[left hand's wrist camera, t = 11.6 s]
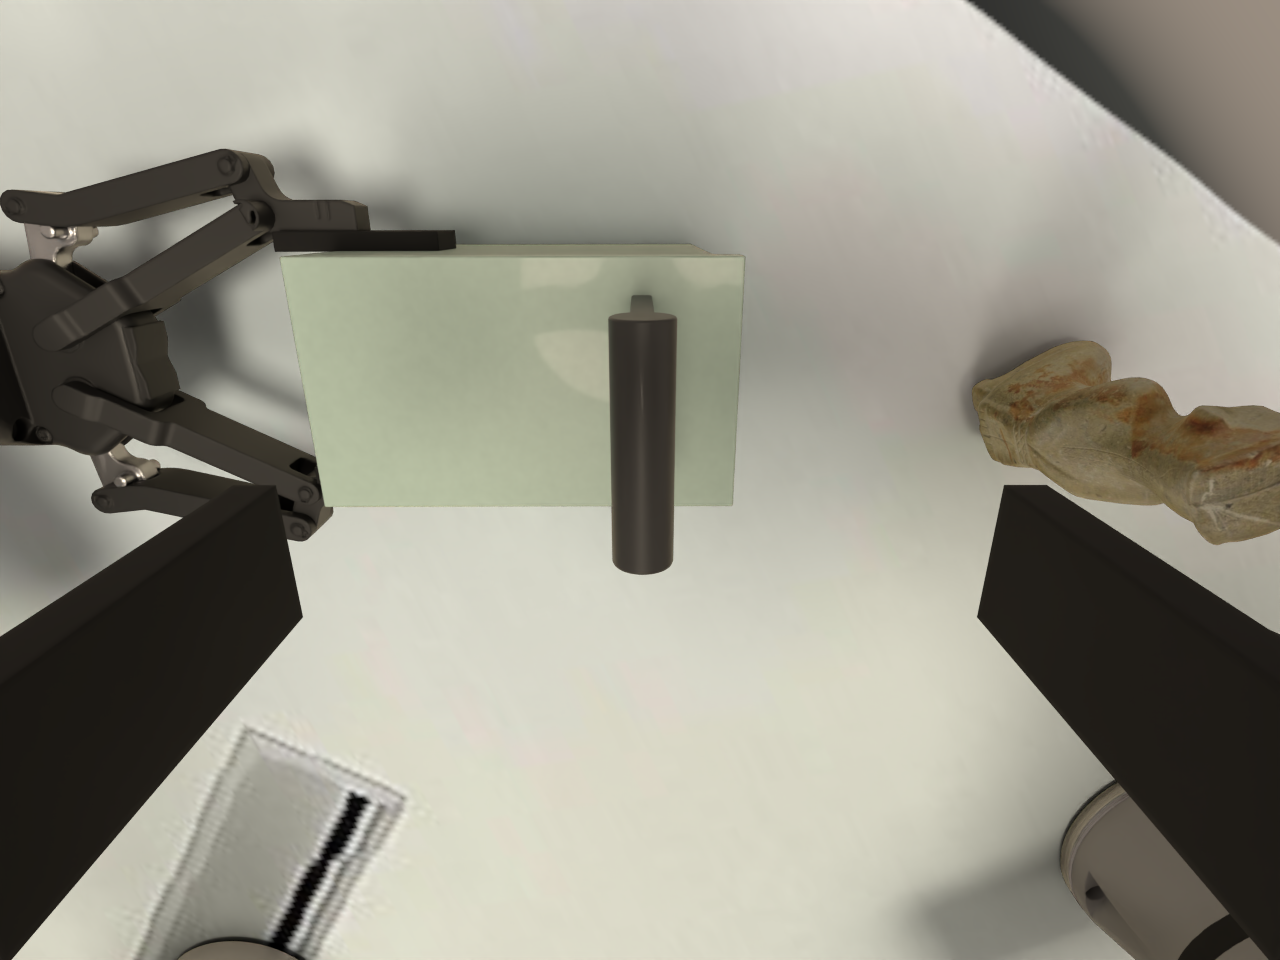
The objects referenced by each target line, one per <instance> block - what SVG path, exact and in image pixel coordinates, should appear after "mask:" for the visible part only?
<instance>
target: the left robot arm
mask: <svg viewBox="0 0 1280 960" xmlns="http://www.w3.org/2000/svg"><path fill="white" fill-rule="evenodd" d="M302 618H303V615H302V610H301V605H300V601H299V596H298V591H297V586H296V581H295V576H294V571H293V566H292V562H291V557H290V552H289V547H288V542H287V537H286V532H285V527H284V523H283V518H282V513H281V508H280V503H279V498H278V493H277V488H276V485H233V486H231V487H230V488H228V489H227V490H225V491H224V492H222V493H220V494H219V495H217V496H216V497H214V498H213V499H211V500H210V501H208V502H207V503H205V504H204V505H202V506H200V507H199V508H197V509H196V510H194V511H193V512H191V513H190V514H188V515H187V516H185V517H184V518H182V519H180V520H179V521H177V522H176V523H174V524H173V525H171V526H170V527H168V528H167V529H165V530H164V531H162V532H161V533H159V534H157V535H156V536H154V537H153V538H151V539H150V540H148V541H147V542H145V543H144V544H142V545H141V546H139V547H137V548H136V549H134V550H133V551H131V552H130V553H128V554H127V555H125V556H124V557H122V558H121V559H119V560H117V561H116V562H114V563H113V564H111V565H110V566H108V567H107V568H105V569H104V570H102V571H101V572H99V573H97V574H96V575H94V576H93V577H91V578H90V579H88V580H87V581H85V582H84V583H82V584H81V585H79V586H77V587H76V588H74V589H73V590H71V591H70V592H68V593H67V594H65V595H64V596H62V597H61V598H59V599H57V600H56V601H54V602H53V603H51V604H50V605H48V606H47V607H45V608H44V609H42V610H41V611H39V612H37V613H36V614H34V615H33V616H31V617H30V618H28V619H27V620H25V621H24V622H22V623H21V624H19V625H17V626H16V627H14V628H13V629H11V630H10V631H8V632H7V633H5V634H4V635H2V636H1V637H0V960H12V959H13V957H14V956H15V955H16V954H17V953H18V951H19V950H20V949H21V948H22V947H23V946H24V944H25V943H26V942H27V941H28V940H29V939H30V937H31V936H32V935H33V934H34V933H35V931H36V930H37V929H38V928H39V927H40V926H41V924H42V923H43V922H44V921H45V920H46V919H47V917H48V916H49V915H50V914H51V913H52V911H53V910H54V909H55V908H56V907H57V906H58V904H59V903H60V902H61V901H62V900H63V899H64V897H65V896H66V895H67V894H68V893H69V891H70V890H71V889H72V888H73V887H74V886H75V884H76V883H77V882H78V881H79V880H80V879H81V877H82V876H83V875H84V874H85V873H86V871H87V870H88V869H89V868H90V867H91V866H92V864H93V863H94V862H95V861H96V860H97V859H98V857H99V856H100V855H101V854H102V853H103V852H104V850H105V849H106V848H107V847H108V846H109V844H110V843H111V842H112V841H113V840H114V839H115V837H116V836H117V835H118V834H119V833H120V832H121V830H122V829H123V828H124V827H125V826H126V824H127V823H128V822H129V821H130V820H131V819H132V817H133V816H134V815H135V814H136V813H137V812H138V810H139V809H140V808H141V807H142V806H143V804H144V803H145V802H146V801H147V800H148V799H149V797H150V796H151V795H152V794H153V793H154V792H155V790H156V789H157V788H158V787H159V786H160V784H161V783H162V782H163V781H164V780H165V779H166V777H167V776H168V775H169V774H170V773H171V772H172V770H173V769H174V768H175V767H176V766H177V765H178V763H179V762H180V761H181V760H182V759H183V757H184V756H185V755H186V754H187V753H188V752H189V750H190V749H191V748H192V747H193V746H194V745H195V743H196V742H197V741H198V740H199V739H200V737H201V736H202V735H203V734H204V733H205V732H206V730H207V729H208V728H209V727H210V726H211V725H212V723H213V722H214V721H215V720H216V719H217V717H218V716H219V715H220V714H221V713H222V712H223V710H224V709H225V708H226V707H227V706H228V705H229V703H230V702H231V701H232V700H233V699H234V697H235V696H236V695H237V694H238V693H239V692H240V690H241V689H242V688H243V687H244V686H245V685H246V683H247V682H248V681H249V680H250V679H251V677H252V676H253V675H254V674H255V673H256V672H257V670H258V669H259V668H260V667H261V666H262V665H263V663H264V662H265V661H266V660H267V659H268V658H269V656H270V655H271V654H272V653H273V652H274V650H275V649H276V648H277V647H278V646H279V645H280V643H281V642H282V641H283V640H284V639H285V638H286V636H287V635H288V634H289V633H290V632H291V630H292V629H293V628H294V627H295V626H296V625H297V623H298V622H299V621H300V620H301V619H302ZM977 618H978V619H979V620H980V621H981V622H982V623H983V625H984V626H985V627H986V628H987V629H988V630H989V632H990V633H991V634H992V635H993V636H994V638H995V639H996V640H997V641H998V642H999V643H1000V645H1001V646H1002V647H1003V648H1004V649H1005V650H1006V652H1007V653H1008V654H1009V655H1010V656H1011V658H1012V659H1013V660H1014V661H1015V662H1016V663H1017V665H1018V666H1019V667H1020V668H1021V669H1022V670H1023V672H1024V673H1025V674H1026V675H1027V676H1028V677H1029V679H1030V680H1031V681H1032V682H1033V683H1034V685H1035V686H1036V687H1037V688H1038V689H1039V690H1040V692H1041V693H1042V694H1043V695H1044V696H1045V697H1046V699H1047V700H1048V701H1049V702H1050V703H1051V705H1052V706H1053V707H1054V708H1055V709H1056V710H1057V712H1058V713H1059V714H1060V715H1061V716H1062V717H1063V719H1064V720H1065V721H1066V722H1067V723H1068V725H1069V726H1070V727H1071V728H1072V729H1073V730H1074V732H1075V733H1076V734H1077V735H1078V736H1079V737H1080V739H1081V740H1082V741H1083V742H1084V743H1085V745H1086V746H1087V747H1088V748H1089V749H1090V750H1091V752H1092V753H1093V754H1094V755H1095V756H1096V757H1097V759H1098V760H1099V761H1100V762H1101V763H1102V765H1103V766H1104V767H1105V768H1106V769H1107V770H1108V772H1109V773H1110V774H1111V775H1112V776H1113V777H1114V779H1115V780H1116V781H1117V783H1116V784H1114V785H1113V786H1111V787H1109V788H1108V789H1106V790H1105V791H1104V792H1102V793H1101V794H1100V795H1098V796H1097V797H1096V798H1095V799H1094V800H1092V801H1091V802H1090V803H1089V804H1088V805H1087V806H1086V807H1085V808H1084V809H1083V810H1082V811H1081V813H1080V814H1079V815H1078V816H1077V818H1076V819H1075V820H1074V822H1073V823H1072V825H1071V826H1070V828H1069V830H1068V832H1067V834H1066V837H1065V839H1064V842H1063V845H1062V849H1061V856H1060V865H1061V872H1062V875H1063V878H1064V880H1065V883H1066V885H1067V886H1068V888H1069V889H1070V891H1071V893H1072V894H1073V896H1074V897H1075V899H1076V900H1077V902H1078V903H1079V905H1080V906H1081V907H1082V909H1083V910H1084V911H1085V912H1086V913H1087V915H1088V916H1089V917H1090V918H1091V919H1092V920H1093V922H1094V923H1095V924H1096V925H1098V926H1099V927H1100V928H1101V929H1102V930H1103V931H1104V932H1105V933H1106V934H1108V935H1109V936H1110V937H1111V938H1112V939H1113V940H1114V941H1115V942H1116V943H1118V944H1119V945H1120V946H1121V947H1122V948H1123V949H1124V950H1125V951H1126V952H1128V953H1129V954H1130V955H1131V956H1132V957H1133V958H1134V959H1135V960H1280V634H1278V633H1275V632H1273V631H1271V630H1269V629H1267V628H1266V627H1264V626H1263V625H1261V624H1259V623H1258V622H1256V621H1255V620H1253V619H1252V618H1250V617H1249V616H1247V615H1246V614H1244V613H1243V612H1241V611H1239V610H1238V609H1236V608H1235V607H1233V606H1232V605H1230V604H1229V603H1227V602H1226V601H1224V600H1223V599H1221V598H1219V597H1218V596H1216V595H1215V594H1213V593H1212V592H1210V591H1209V590H1207V589H1206V588H1204V587H1203V586H1201V585H1199V584H1198V583H1196V582H1195V581H1193V580H1192V579H1190V578H1189V577H1187V576H1186V575H1184V574H1183V573H1181V572H1179V571H1178V570H1176V569H1175V568H1173V567H1172V566H1170V565H1169V564H1167V563H1166V562H1164V561H1163V560H1161V559H1159V558H1158V557H1156V556H1155V555H1153V554H1152V553H1150V552H1149V551H1147V550H1146V549H1144V548H1143V547H1141V546H1139V545H1138V544H1136V543H1135V542H1133V541H1132V540H1130V539H1129V538H1127V537H1126V536H1124V535H1123V534H1121V533H1119V532H1118V531H1116V530H1115V529H1113V528H1112V527H1110V526H1109V525H1107V524H1106V523H1104V522H1103V521H1101V520H1100V519H1098V518H1096V517H1095V516H1093V515H1092V514H1090V513H1089V512H1087V511H1086V510H1084V509H1083V508H1081V507H1080V506H1078V505H1076V504H1075V503H1073V502H1072V501H1070V500H1069V499H1067V498H1066V497H1064V496H1063V495H1061V494H1060V493H1058V492H1056V491H1055V490H1053V489H1052V488H1050V487H1049V486H1047V485H1004V488H1003V493H1002V498H1001V503H1000V508H999V513H998V518H997V522H996V527H995V532H994V537H993V542H992V547H991V552H990V557H989V562H988V566H987V571H986V576H985V581H984V586H983V591H982V596H981V601H980V605H979V610H978V615H977Z"/></svg>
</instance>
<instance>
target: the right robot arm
mask: <svg viewBox="0 0 1280 960" xmlns="http://www.w3.org/2000/svg"><path fill="white" fill-rule="evenodd" d="M230 195H233V196H234V198H235V200H234V201H233V202H234V204H238V205H237V206H236V207H234V208H232V209H231V210H229V211H228V212H226V213H224V214H223V215H221V216H220V217H218V218H216V219H215V220H213V221H212V222H210V223H208V224H207V225H205V226H204V227H202V228H200V229H199V230H197V231H196V232H194V233H192V234H191V235H189V236H188V237H186V238H184V239H183V240H181V241H179V242H178V243H176V244H175V245H173V246H171V247H170V248H168V249H167V250H165V251H163V252H162V253H160V254H159V255H157V256H155V257H154V258H152V259H151V260H149V261H147V262H146V263H144V264H143V265H141V266H139V267H138V268H136V269H135V270H133V271H131V272H130V273H128V274H127V275H125V276H123V277H121V278H118V279H115V280H112V281H109V282H108V281H106V280H104V279H103V278H101V277H100V276H98V275H96V274H95V273H93V272H92V271H90V270H88V269H87V268H85V267H84V266H82V265H80V264H79V263H77V262H75V261H73V260H72V255H73V251H74V250H75V249H76V248H77V247H79V246H85V245H88V244H90V243H91V241H92V240H93V238H95V237H97V236H98V228H97V227H107V226H119V225H124V224H128V223H132V222H136V221H139V220H143V219H147V218H150V217H154V216H158V215H161V214H165V213H168V212H172V211H176V210H179V209H183V208H187V207H190V206H194V205H198V204H201V203H205V202H208V201H212V200H216V199H219V198H223V197H227V196H230ZM0 206H1V208H2V211H3V212H4V213H5V215H6V216H7V217H8V218H10V219H11V220H13V221H15V222H19V223H24V226H25V231H26V236H27V241H28V246H29V252H30V257H31V260H28V261H25V262H23V263H22V264H20V265H19V266H18V267H17V268H15V269H13V270H0V445H61V446H65V447H68V448H70V449H73V450H75V451H77V452H79V453H82V454H85V455H90V456H91V459H92V461H93V463H94V466H95V468H96V470H97V473H98V475H99V477H100V480H101V482H102V484H103V487H101V488H99V489H97V490H95V491H94V492H93V493H92V496H91V500H92V503H93V505H94V506H95V508H97V509H98V510H99V511H101V512H104V513H118V512H127V511H137V510H150V511H155V512H159V513H164V514H169V515H174V516H179V517H183V518H184V517H185V516H187V515H188V514H190V513H191V512H193V511H194V510H196V509H197V508H199V507H200V506H202V505H204V504H205V503H207V502H208V501H210V500H211V499H213V498H214V497H216V496H217V495H219V494H220V493H222V492H224V491H225V490H227V489H228V488H230V487H231V486H233V485H276V488H277V493H278V498H279V503H280V508H281V513H282V518H283V523H284V527H285V532H286V537H287V539H289V540H294V541H305V540H307V539H308V538H309V537H311V536H312V535H313V534H314V533H315V532H316V531H317V530H318V529H319V528H320V527H321V526H322V525H323V524H324V523H325V522H326V521H327V520H328V519H329V518H330V517H331V516H332V514H333V507H325V504H324V499H323V493H322V488H321V482H320V477H319V471H318V466H317V460H316V457H314V456H312V455H310V454H307V453H305V452H303V451H301V450H299V449H296V448H294V447H292V446H290V445H287V444H285V443H283V442H281V441H278V440H276V439H274V438H272V437H269V436H267V435H265V434H263V433H261V432H258V431H256V430H254V429H252V428H249V427H247V426H245V425H243V424H240V423H238V422H236V421H234V420H231V419H229V418H227V417H225V416H223V415H220V414H218V413H216V412H214V411H211V410H209V409H207V408H206V405H205V403H204V402H203V401H201V400H199V399H197V398H195V397H192V396H190V395H188V394H186V393H184V392H181V391H179V389H180V386H179V382H178V378H177V374H176V371H175V369H174V367H173V365H172V363H171V361H170V360H169V358H168V355H167V349H168V337H167V333H166V329H165V325H164V321H157V319H156V317H155V316H156V315H158V314H160V313H161V312H163V311H165V310H166V309H168V308H170V307H171V306H173V305H174V304H176V303H178V302H179V301H180V300H181V297H183V296H184V295H186V294H188V293H189V292H191V291H192V290H194V289H196V288H197V287H199V286H201V285H202V284H204V283H206V282H207V281H209V280H211V279H212V278H214V277H216V276H217V275H219V274H221V273H222V272H224V271H225V270H227V269H229V268H230V267H232V266H234V265H235V264H237V263H239V262H240V261H242V260H244V259H245V258H247V257H249V256H250V255H252V254H253V253H255V252H257V251H258V250H260V249H262V248H263V247H265V246H267V245H268V244H270V243H272V242H273V243H274V249H275V252H332V251H442V250H449V249H455V248H456V239H455V230H371V229H370V222H369V215H368V207H367V206H366V205H363V204H361V203H359V202H356V201H349V200H292V199H289V198H288V197H286V196H285V195H284V194H283V193H282V192H281V191H280V189H279V188H278V186H277V184H276V182H275V180H274V168H273V165H272V164H271V162H270V161H269V160H268V159H267V158H266V157H264V156H262V155H259V154H253V153H247V152H241V151H236V150H230V149H219V150H215V151H211V152H208V153H204V154H201V155H197V156H194V157H190V158H187V159H183V160H180V161H176V162H172V163H169V164H165V165H162V166H158V167H155V168H151V169H148V170H144V171H140V172H137V173H133V174H130V175H126V176H123V177H119V178H116V179H112V180H108V181H105V182H101V183H98V184H94V185H91V186H87V187H84V188H80V189H77V190H73V191H69V192H66V193H65V192H49V191H28V190H6V191H5V192H3V193H2V195H1V197H0ZM133 438H134V439H136V440H139V441H141V442H143V443H146V444H149V445H154V446H168V447H171V448H173V449H175V450H178V451H180V452H182V453H185V454H187V455H189V456H191V457H194V458H196V459H198V460H201V461H203V462H205V463H208V464H210V465H212V466H214V467H217V468H219V469H221V470H224V471H226V472H228V473H231V474H233V475H235V476H237V477H240V478H242V479H244V480H247V481H249V482H251V483H248V482H243V481H239V480H234V479H229V478H225V477H220V476H215V475H211V474H206V473H201V472H197V471H192V470H187V469H180V468H161V467H160V463H159V462H158V461H157V460H154V459H151V460H147V459H144V458H137V457H135V456H133V455H131V454H130V453H129V452H128V451H127V450H126V448H125V446H124V445H125V444H127V443H128V442H129V441H130V440H132V439H133ZM253 483H254V484H253Z"/></svg>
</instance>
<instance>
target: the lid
mask: <svg viewBox="0 0 1280 960" xmlns="http://www.w3.org/2000/svg"><path fill="white" fill-rule="evenodd" d="M280 263H281V268H282V274H283V279H284V285H285V290H286V296H287V301H288V307H289V312H290V318H291V323H292V329H293V334H294V340H295V345H296V351H297V356H298V362H299V367H300V373H301V378H302V384H303V389H304V395H305V400H306V405H307V411H308V416H309V422H310V427H311V433H312V438H313V444H314V449H315V455H316V460H317V466H318V471H319V477H320V482H321V488H322V493H323V499H324V504H325V507H477V506H612V559H613V563H614V565H615V566H616V567H617V568H618V569H620V570H622V571H624V572H627V573H631V574H638V575H647V574H655V573H659V572H662V571H664V570H666V569H667V568H669V567H670V566H671V564H672V562H673V537H674V506H732V505H733V489H734V469H735V450H736V430H737V411H738V391H739V371H740V352H741V332H742V313H743V293H744V273H745V256H743V255H740V254H652V255H293V256H283V257H280Z"/></svg>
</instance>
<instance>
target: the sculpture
mask: <svg viewBox="0 0 1280 960" xmlns="http://www.w3.org/2000/svg"><path fill="white" fill-rule="evenodd" d="M972 398H973V404H974V408H975V410H976V411H977V412H978V416H979V421H980V426H979V430H980V432H981V435H982V438H983V440H984V443H985V445H986V448H987V450H988V452H989V454H990V456H991V458H992V459H993V460H995V461H998V462H1001V463H1002V464H1004V465H1009V466H1015V467H1025V468H1034V469H1037V470H1039V471H1041V472H1042V473H1043V474H1044V475H1045V476H1047V477H1048V478H1050V479H1051V480H1052V481H1054V482H1055V483H1056V484H1058V485H1059V486H1061V487H1062V488H1063V489H1065V490H1066V491H1068V492H1069V493H1071V494H1073V495H1075V496H1078V497H1082V498H1086V499H1092V500H1099V501H1106V502H1114V503H1122V504H1133V505H1158V504H1162V503H1165V504H1166V505H1167V506H1168V507H1169V508H1170V509H1172V510H1173V511H1174V512H1176V513H1177V514H1178V515H1180V516H1182V517H1183V518H1185V519H1187V520H1189V521H1191V522H1193V523H1194V525H1195V527H1196V528H1197V530H1198V532H1199V533H1200V534H1201V535H1202V537H1203V538H1205V539H1206V540H1207V541H1208V542H1209V543H1211V544H1214V545H1219V544H1222V543H1227V542H1238V541H1244V540H1248V539H1252V538H1255V537H1259V536H1263V535H1266V534H1269V533H1271V532H1273V531H1276V530H1278V529H1280V413H1278V412H1275V411H1273V410H1271V409H1268V408H1266V407H1264V406H1255V405H1252V406H1238V407H1220V406H1198V407H1197V408H1195V409H1194V410H1193V411H1192V412H1191V414H1189V415H1187V416H1181V415H1178V413H1177V412H1176V411H1175V410H1174V408H1173V406H1172V404H1171V402H1170V400H1169V397H1168V395H1167V393H1166V392H1165V390H1164V389H1163V388H1162V387H1161V386H1160V385H1159V384H1158V383H1157V382H1154V381H1152V380H1149V379H1146V378H1140V377H1137V378H1125V379H1120V380H1115V381H1111V357H1110V355H1109V353H1108V352H1107V350H1106V349H1105V348H1103V347H1102V346H1100V345H1099V344H1097V343H1095V342H1092V341H1075V342H1069V343H1065V344H1062V345H1059V346H1056V347H1054V348H1052V349H1050V350H1048V351H1046V352H1044V353H1042V354H1040V355H1038V356H1036V357H1034V358H1032V359H1030V360H1028V361H1027V362H1025V363H1023V364H1022V365H1020V366H1018V367H1017V368H1015V369H1014V370H1012V371H1010V372H1009V373H1007V374H1005V375H1003V376H1000V377H998V378H995V379H992V380H990V379H986V380H983V381H981V382H979V383H977V384H976V385H975V386H974V387H973V389H972Z"/></svg>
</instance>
